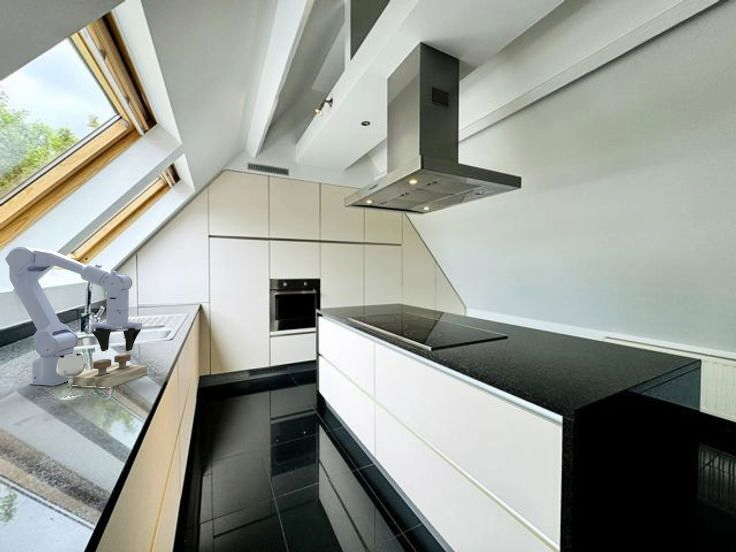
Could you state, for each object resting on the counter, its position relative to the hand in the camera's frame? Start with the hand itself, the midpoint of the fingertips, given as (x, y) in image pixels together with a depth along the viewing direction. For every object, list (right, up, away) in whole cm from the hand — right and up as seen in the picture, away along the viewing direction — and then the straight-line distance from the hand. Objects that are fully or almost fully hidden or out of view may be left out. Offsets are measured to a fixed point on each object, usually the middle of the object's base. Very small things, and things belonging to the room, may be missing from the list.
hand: (117, 350), depth 102 cm
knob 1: (-1, -7, -5) cm, 9 cm away
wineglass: (0, -10, -16) cm, 19 cm away
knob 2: (0, -7, +2) cm, 7 cm away
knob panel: (-1, -9, -1) cm, 10 cm away
